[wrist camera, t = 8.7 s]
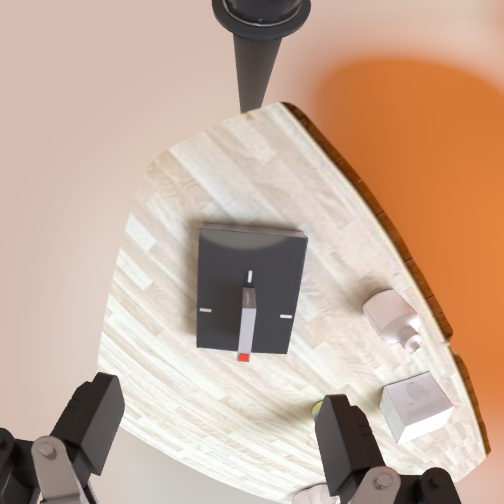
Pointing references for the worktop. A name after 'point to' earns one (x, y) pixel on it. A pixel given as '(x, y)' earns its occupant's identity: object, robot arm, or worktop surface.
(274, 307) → the plate
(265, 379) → the worktop surface
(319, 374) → the worktop surface
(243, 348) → the tap lever
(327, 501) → the white bunny figurine
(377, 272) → the worktop surface
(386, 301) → the eye dropper bottle
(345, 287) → the worktop surface
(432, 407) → the cosmetics box
